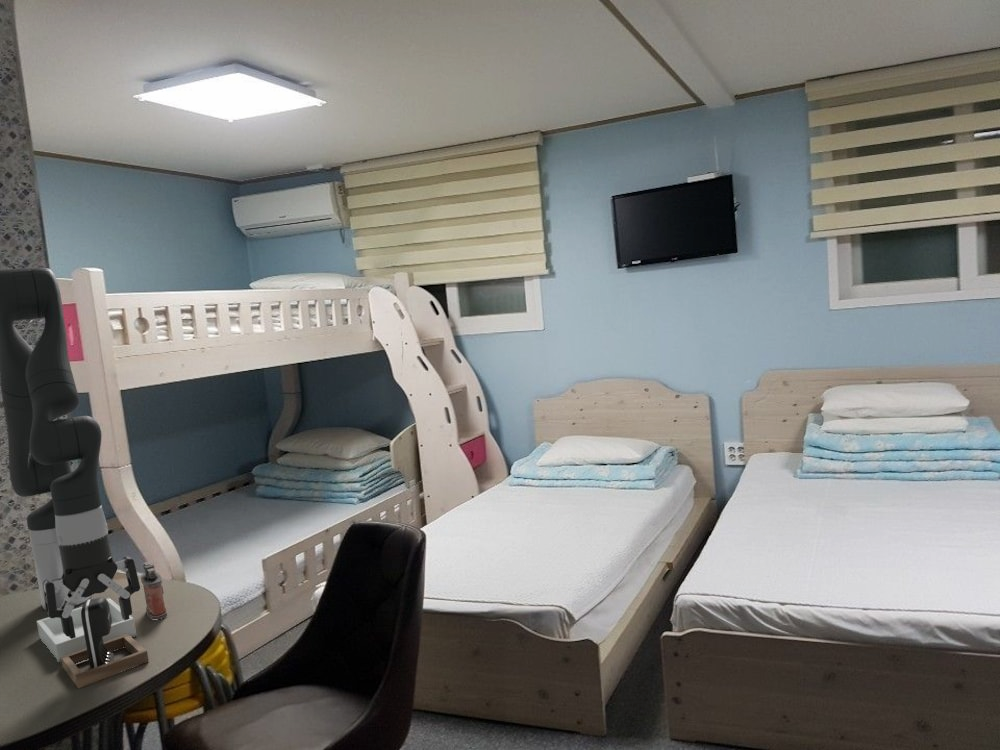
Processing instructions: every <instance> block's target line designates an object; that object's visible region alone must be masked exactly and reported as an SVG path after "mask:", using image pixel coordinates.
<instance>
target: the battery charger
mask: <svg viewBox="0 0 1000 750" xmlns="http://www.w3.org/2000/svg"><path fill="white" fill-rule="evenodd" d="M106 599H107V598H105V597H96V598H89V599H88V600H86V601H85V602H83V603H82V606H81V607H82V610H81V618H82V624H83V630H84V636H85V641H86V647H87V652H88V657H89V661H88V662H89V667H90V669H93V668H95V667H98V666H101V665H104V664H106V663H109V662H112V661H114V657H115V656H114V652H112V653H111V652H110V651H109V650H108V649H107V648H106V647H105V645H104V643H103V638H102V637H103V636H106V635H108V634H109V633H110V629H111V624H112V617H111V612H110V608H109V604H108V601H107V600H106ZM90 669H89V670H90Z"/></svg>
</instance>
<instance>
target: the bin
mask: <svg viewBox="0 0 1000 750" xmlns="http://www.w3.org/2000/svg"><path fill="white" fill-rule="evenodd" d="M105 599H106V600H107V601H108V604H109V608H110V612H111V617H112V624H111V629H110V633H109V634H108V635H106V636H103V637H102V638H103V642H105V641H108V640H111V639H114V638H117V637H120V636H123V635H126V634H129V635H130V636H131V637H134V636H137V629H136V623H135V618H134V617H133V616H132V615H130V616H129V619H128V620H124V619H123V618H122V615H121V610H120V604H117V603H116V602H115V601H114V600H112V599H111V598H110V597H108V598H105ZM81 610H82V606H80V607H77V608H73V610H72V612H71V614H70V615H71V616H72V619H73V624H74V630H75V635H76V637H75V638H72V639H70V637H69V636H66V635H65V634H64V633H63V628H62V623H61V618H50V617H49V616H47V617H45V618H42V619H38V620H36V626H37V631H38V636H39V640H40V639H41V640H40V641H41V642H42V643H43V645H44V644H45V645H46V646H47V647H46V646H45V645H44V646H45V647H46V648H48V649H49V650H50V651H49V650H48V651H49V652H50V653H52V654H53V655H54V656H53V655H52V654H51V655H52V656H53V658H54V657H55V658H56V659H57V660H58V661H59V662H61V657H62V656H65V655H68V654H71V653H74V652H77V651H79V650H82V649H85V648H87V647H86V641H85V636H84V630H83V624H82V618H81ZM137 637H138V636H137ZM134 638H135V637H134ZM55 658H54V659H55ZM56 659H55V660H56ZM57 660H56V661H57ZM58 661H57V662H58Z"/></svg>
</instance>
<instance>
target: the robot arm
mask: <svg viewBox="0 0 1000 750" xmlns="http://www.w3.org/2000/svg"><path fill="white" fill-rule="evenodd" d="M34 319H35V320H37V319H44V327H43V330H42V333H41V335H40V338H39V340H38V342H37V343H36V344H35V346H34V348H33V347H32V346H31V345H30V344H29V343H28V342H27V341H26V340H25V339H24V338H23V335H21V334H20V331H18V329H17V328H16V326H15V324H14V322H15V321H26V320H34ZM66 330H67V329H66V323H65V316H64V309H63V302H62V295H61V290H60V286H59V283H58V280H57V277H56V275H55V273H54V272H53V271H52V270H51V269H50V268H47V267H23V268H20V267H19V268H5V269H0V389H1V397H2V399H1V400H2V404H3V410H4V416H5V417H4V418H5V422H6V430H7V438H8V442H7V443H8V468H9V478H10V479H9V480H10V484H11V486H12V490H13V492H14V493H15V494H16V495H17V496H19V497H24V498H26V497H34V496H38V495H43V494H49V493H50V495H51V499H49V501H47V502H46V503H44V505H42V506H40V507H38V508H36V509H35V510H33V511H32V512H31V513H29V514H28V515H27V516H26V517H27V518H26V523H27V529H28V534H29V539H30V546H31V550H32V556H33V560H34V561H33V562H34V566H35V572H36V577H37V578H36V579H37V582H38V589H39V595H40V601H41V605H42V606H41V607H42V609H43V610H45V614H46V615H47V616H48V617H50V618H61V623H62V628H63V633H64V634H65V635H66V636H69V637H70V639H72V638H75V637H76V635H75V630H74V624H73V619H72V616H71V615H70V614H71V612H72V610H73V609H75V606H78V605H80V604H83V603H84V602H85V601H87V600H89V599H91V597H92V595H95V594H101V593H105V592H106V590H107V589H110V590H111V591H114V593H116V594H117V595H119V597H118V603H119V604H118V605H119V606H120V610H121V615H122V618H123V619H124V620H128V619H129V616H132V614H133V607H132V602H131V596H132V595H133V594H134V593H137V592H139V591H141V584H140V581H139V576H138V572H137V569H136V564H135V559H133V558H131V557H130V556H127V555H126V556H124V557H123V558H122V559H121V560H118V561H116V562H115V561H114V559H113V554H112V548H111V541H110V537H109V526H108V523H107V520H106V519H107V518H106V515H105V513H104V509H103V505H102V502H101V501H102V500H101V495H100V489H99V488H100V487H99V478H98V476H99V475H98V470H99V469H98V468H99V459H100V458H99V457H100V453H101V446H102V429H101V427H100V425H99V423H98V421H97V420H95V418H93V417H91V416H89V415H81V416H80V415H79V416H74V417H68V418H63V419H58V418H62V417H64V416H66V415H69V414H70V413H72V412H73V411H75V410H76V409H77V408H78V406H79V404H80V396H79V393H78V390H77V386H76V381H75V379H74V374H73V372H72V367H71V363H70V357H69V351H68V340H67V339H68V338H67V331H66ZM75 460H80V462H79V464H78V466H77V468H76V469H75V470H73V471H72V470H71V469H72V468H71V462H72V461H75ZM118 569H120V571H121V572H123V573H125V576H126V580H127V584H128V585H127V586H125V587H124V588H123V587H122V586H121V585H120V584H118V583H117V582H116V581H114V580H113V579H114V577H115V575H116V574H117V571H118Z"/></svg>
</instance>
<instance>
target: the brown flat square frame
mask: <svg viewBox="0 0 1000 750" xmlns="http://www.w3.org/2000/svg"><path fill="white" fill-rule="evenodd" d="M103 643H104V645H105V647H106V648H107V649H108V650H109V651H110V652H112V651H114V650H117V649H120V648H123V647H126V648H127V649H128V650H129V651H130V652H131V653H132V654H131V653H130V652H129V651H128V650H127V649H126V648H125V649H126V650H127V651H128V652H129V653H130V654H129V655H127V656H124V657H120V658H117V659H114V660H113V661H112V662H109V663H106V664H104V665H101V666H98V667H95V668H93V669H87V670H85V671H83V672H82V671H81V670H80V669H79V668H78V665H75V664H76V663H78V662H81V661H83V660H87V659H89V657H88V652H87V648H85V649H82V650H79V651H77V652H74V653H71V654H68V655H65V656H62V657H61V662H62V663H61V666H62V669H63V668H64V669H65V670H64V669H63V670H64V672H65V671H66V672H67V673H66V672H65V673H66V674H67V676H69V678H70V680H71V681H72V682H73V683H74V684H75V685H76V687H77V688H78V689H81V688H84V687H86V686H90V685H92V684H95V683H97V682H100V681H103V680H105V679H108V678H110V676H111V677H113V676H116V675H118V674H117V673H119V674H121V673H122V672H121V671H124V670H127V669H129V670H131V669H130V668H132V667H134V666H137V665H140V664H143V663H145V664H147V663H146V662H148V661H149V656H148V650H147V649H146V648H144V647H143V646H142V645H141V644H140V643H139V642H138V641H136V640H135V639H134V638H132V637H131V636H130V635H129V634H126V635H123V636H120V637H117V638H114V639H111V640H108V641H105V642H103ZM112 653H113V652H112ZM148 663H149V662H148ZM143 665H144V664H143ZM140 666H141V665H140ZM137 667H138V666H137ZM132 669H133V668H132ZM127 671H128V670H127ZM120 672H121V673H120ZM124 672H125V671H124ZM115 674H116V675H115ZM107 677H108V678H107ZM102 679H103V680H102ZM99 680H100V681H99Z"/></svg>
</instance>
